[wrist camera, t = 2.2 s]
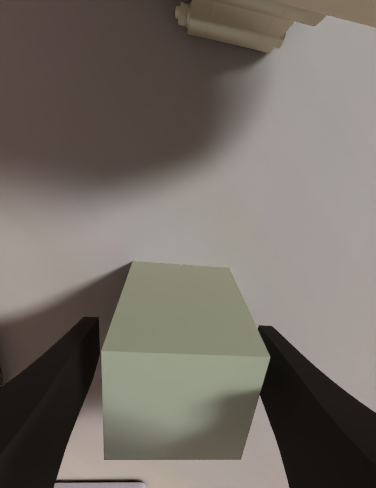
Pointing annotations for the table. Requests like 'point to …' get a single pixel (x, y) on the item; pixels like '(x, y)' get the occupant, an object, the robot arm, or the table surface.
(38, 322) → the table surface
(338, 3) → the pneumatic valve
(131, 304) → the sage green cube
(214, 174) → the table surface
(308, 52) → the table surface
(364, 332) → the table surface
